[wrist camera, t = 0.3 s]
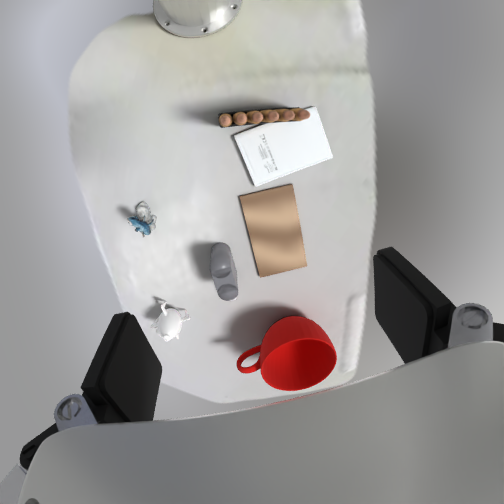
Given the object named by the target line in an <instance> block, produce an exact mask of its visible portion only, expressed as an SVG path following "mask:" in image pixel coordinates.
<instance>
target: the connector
mask: <svg viewBox="0 0 504 504" xmlns="http://www.w3.org/2000/svg"><path fill="white" fill-rule="evenodd" d="M210 272H211V275H212V278H213V281H214V284H215V287H216V290H217V293H218V295H219V297H220V298H221V299H223V300H226V301H233V300H237V295H238V284H237V271H236V268H235V264H234V261H233V257H232V254H231V250H230V247H229V246H228V245H227V244H225V243H217V244H215V245H214V246H213V248H212V252H211V263H210Z"/></svg>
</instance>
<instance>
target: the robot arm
mask: <svg viewBox="0 0 504 504" xmlns="http://www.w3.org/2000/svg"><path fill="white" fill-rule="evenodd" d="M241 2H242V0H154V1H153V11H154V15H155V17H156V19H157V21H158V22H159V24H160V25H161V26H162V27H163V28H164V29H166V30H167V31H168V32H170V33H172V34H175V35H178V36H181V37H189V38H195V37H203V36H208V35H211V34H214V33H216V32H218V31H220V30H222V29H224V28H225V27H226V26H228V25H229V24H230V23H231V22H232V21H233V20H234V19H235V17H236V16H237V14H238V12H239V10H240V7H241ZM234 7H235V8H236V9H232V8H234ZM167 24H170V25H169V26H167ZM204 30H207V32H203V31H204ZM373 261H374V286H375V315H376V319H377V320H378V322H379V324H380V325H381V327H382V328H383V330H384V332H385V333H386V334H387V336H388V338H389V339H390V341H391V342H392V344H393V345H394V347H395V349H396V350H397V352H398V353H399V355H400V356H401V358H402V360H403V361H404V363H405V364H404V365H401V366H399V367H396V368H394V369H390V370H388V371H385V372H382V373H379V374H376V375H373V376H370V377H367V378H364V379H361V380H358V381H355V382H352V383H348V384H345V385H342V386H338V387H335V388H331V389H328V390H324V391H321V392H317V393H313V394H309V395H305V396H301V397H297V398H293V399H289V400H285V401H280V402H276V403H271V404H266V405H262V406H256V407H251V408H246V409H240V410H235V411H229V412H223V413H216V414H209V415H202V416H194V417H186V418H177V419H167V420H155V421H153V417H154V411H155V406H156V400H157V395H158V390H159V385H160V379H161V374H162V366H161V363H160V361H159V360H158V358H157V356H156V354H155V353H154V351H153V349H152V347H151V345H150V344H149V342H148V340H147V338H146V336H145V334H144V333H143V331H142V329H141V327H140V325H139V323H138V321H137V319H136V317H135V316H134V315H131V314H130V313H129V312H124V313H119V314H115V315H114V316H113V318H112V320H111V322H110V324H109V326H108V328H107V330H106V332H105V334H104V336H103V339H102V341H101V343H100V345H99V347H98V349H97V351H96V354H95V356H94V358H93V360H92V363H91V365H90V367H89V370H88V372H87V374H86V376H85V379H84V381H83V383H82V386H81V389H82V390H83V391H84V392H83V394H82V395H79V394H72V395H69V396H67V397H65V398H63V399H62V400H61V401H60V402H59V403H58V404H57V406H56V408H55V411H54V418H55V421H56V423H55V424H53V425H52V426H51V427H49V428H48V429H47V430H45V431H44V432H42V433H41V434H40V435H38V436H37V437H36V438H34V439H33V440H31V441H30V442H28V443H27V444H26V445H25V446H24V447H23V449H22V451H21V454H20V463H21V465H20V466H19V465H18V464H16V466H15V467H14V468H13V469H12V470H11V471H10V472H9V474H8V475H7V476H6V477H5V478H4V480H3V481H2V482H1V483H0V504H504V324H499V323H493V318H492V314H491V313H490V311H489V310H488V309H486V308H485V307H484V306H482V305H479V304H475V303H466V304H462V305H460V306H459V307H455V305H454V304H453V303H452V302H451V301H450V300H449V299H448V298H447V297H446V296H445V295H444V294H443V293H442V292H441V291H440V290H439V289H438V288H437V287H436V286H435V285H434V284H433V283H431V282H430V281H429V280H428V279H427V278H426V277H425V276H424V275H423V274H422V273H421V272H420V271H419V270H418V269H416V268H415V267H414V266H413V265H412V264H411V263H410V262H409V261H408V260H407V259H405V258H404V257H403V256H402V255H401V254H400V253H399V252H398V251H396V250H395V249H394V248H393V247H388V248H385V249H381V250H378V251H377V255H374V257H373Z"/></svg>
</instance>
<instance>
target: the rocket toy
mask: <svg viewBox="0 0 504 504" xmlns="http://www.w3.org/2000/svg"><path fill="white" fill-rule="evenodd" d="M166 303H167V302H165V303H163V304H162V305H161V309H162V311H163V312H162V313H161V314H160V316H159V317H158V318H157V319H156V320H155V322H154V323H153V324H152V326H151V328H156V327H157V329H156V332H157V334H158V335H159V336H161V337H163V339H164V340H165V341H169V340H170V339H172V338H174V337H175V336H176V338H177V339H179V332H180V330H181V327H182V322H183V321H187V320H190V316H189V314H188V312H187V311H186V310H185V313H186V316H185V317H183V318H182V317H181V315H180V313H179V312H178V311H177V310H176V309H173V308H169V309H166V310H165V305H166ZM157 321H158V323H157Z"/></svg>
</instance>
